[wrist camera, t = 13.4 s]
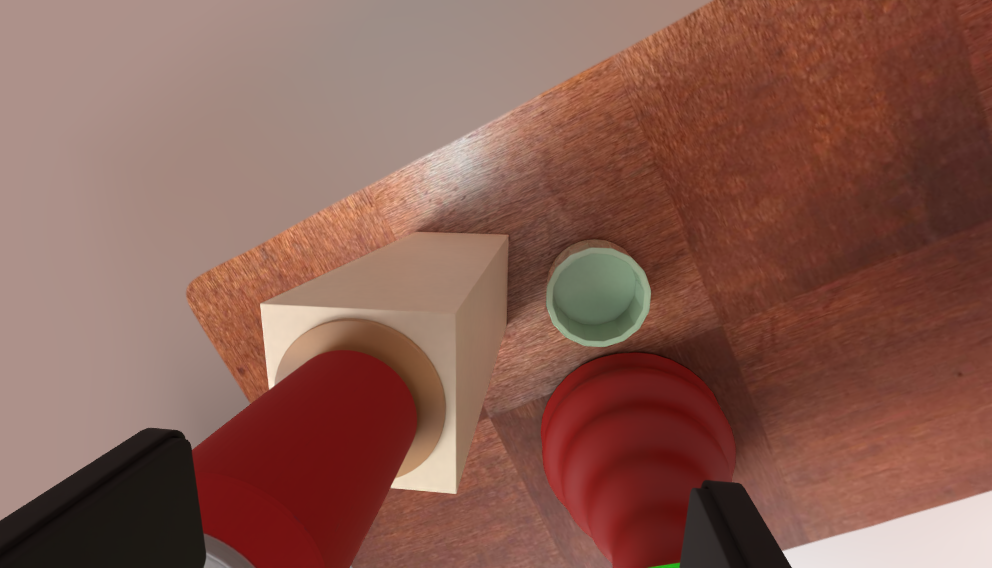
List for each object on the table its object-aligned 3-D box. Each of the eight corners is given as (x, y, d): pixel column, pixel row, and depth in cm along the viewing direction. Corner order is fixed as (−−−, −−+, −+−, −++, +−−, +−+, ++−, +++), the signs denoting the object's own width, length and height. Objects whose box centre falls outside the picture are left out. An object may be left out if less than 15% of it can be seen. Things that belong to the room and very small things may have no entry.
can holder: (549, 237, 50) (548, 246, 44) (644, 240, 48) (655, 249, 43) (545, 325, 52) (544, 343, 46) (636, 330, 51) (645, 349, 45)
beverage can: (274, 421, 25) (34, 638, 13) (328, 317, 23) (105, 465, 12) (384, 486, 25) (241, 758, 14) (446, 389, 23) (342, 605, 12)
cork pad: (269, 313, 24) (265, 315, 24) (445, 322, 23) (443, 325, 23) (285, 470, 26) (281, 475, 26) (447, 485, 25) (445, 490, 25)
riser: (415, 231, 51) (259, 303, 24) (508, 234, 50) (455, 313, 23) (417, 320, 53) (278, 477, 26) (506, 325, 52) (456, 494, 25)
